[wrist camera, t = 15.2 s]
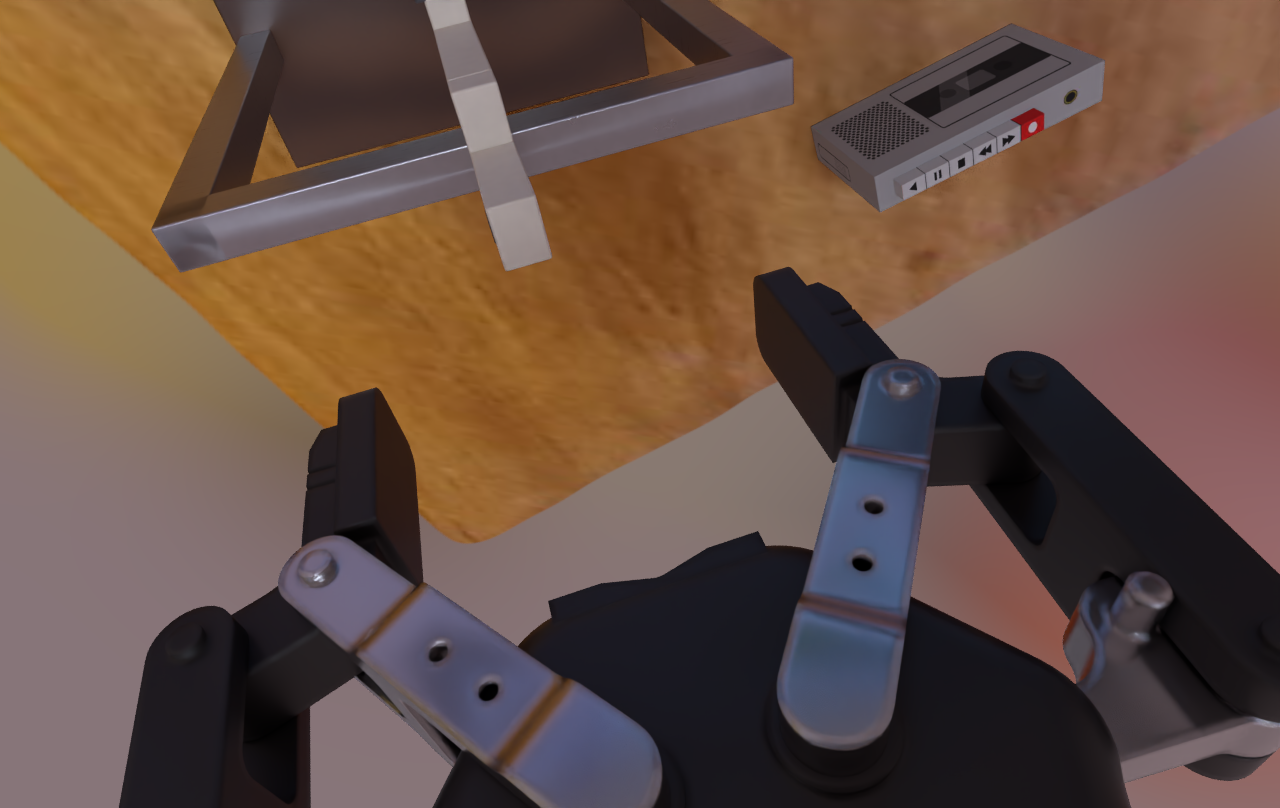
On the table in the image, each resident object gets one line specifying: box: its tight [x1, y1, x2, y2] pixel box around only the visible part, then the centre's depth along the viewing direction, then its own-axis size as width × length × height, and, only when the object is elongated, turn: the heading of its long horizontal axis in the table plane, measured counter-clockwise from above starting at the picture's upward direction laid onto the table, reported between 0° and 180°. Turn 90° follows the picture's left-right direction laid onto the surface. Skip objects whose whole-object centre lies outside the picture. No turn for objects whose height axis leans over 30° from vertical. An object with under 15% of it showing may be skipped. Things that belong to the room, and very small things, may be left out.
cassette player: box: [811, 24, 1105, 212], centre depth 50 cm, size 16×3×10 cm, turn 112°
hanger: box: [415, 0, 552, 271], centre depth 25 cm, size 11×2×13 cm, turn 9°
